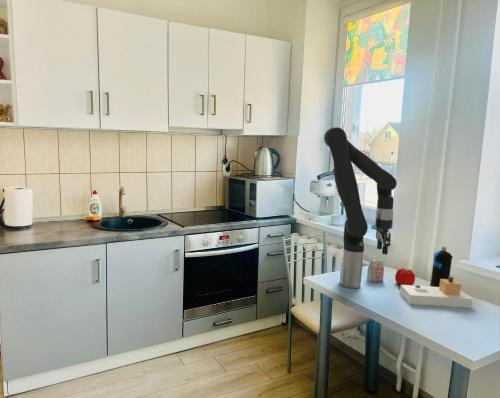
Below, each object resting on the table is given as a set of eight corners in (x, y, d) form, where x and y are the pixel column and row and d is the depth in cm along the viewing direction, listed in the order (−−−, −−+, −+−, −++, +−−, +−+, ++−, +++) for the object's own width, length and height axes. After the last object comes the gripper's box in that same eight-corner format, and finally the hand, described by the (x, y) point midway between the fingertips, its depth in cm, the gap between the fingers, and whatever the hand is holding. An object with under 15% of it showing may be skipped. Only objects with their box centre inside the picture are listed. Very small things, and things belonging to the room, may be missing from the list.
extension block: (409, 303, 167) (410, 293, 167) (399, 293, 179) (400, 283, 179) (471, 307, 167) (472, 297, 166) (457, 296, 178) (458, 287, 178)
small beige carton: (366, 279, 196) (368, 259, 194) (378, 278, 198) (380, 259, 196) (371, 281, 192) (373, 262, 191) (382, 280, 195) (384, 261, 193)
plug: (444, 298, 170) (446, 279, 168) (438, 293, 175) (440, 274, 174) (458, 299, 170) (461, 279, 168) (452, 294, 175) (455, 275, 174)
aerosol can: (444, 284, 194) (449, 245, 191) (451, 290, 186) (456, 249, 183) (427, 282, 195) (432, 243, 192) (433, 289, 187) (438, 248, 184)
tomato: (416, 288, 186) (418, 273, 185) (398, 287, 186) (399, 272, 185) (409, 281, 195) (411, 267, 194) (391, 280, 196) (393, 266, 194)
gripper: (372, 214, 189) (369, 247, 191) (380, 220, 175) (378, 255, 177) (387, 214, 188) (385, 247, 191) (397, 221, 174) (395, 256, 177)
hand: (382, 251), depth 184 cm, fingers open, 8 cm apart
